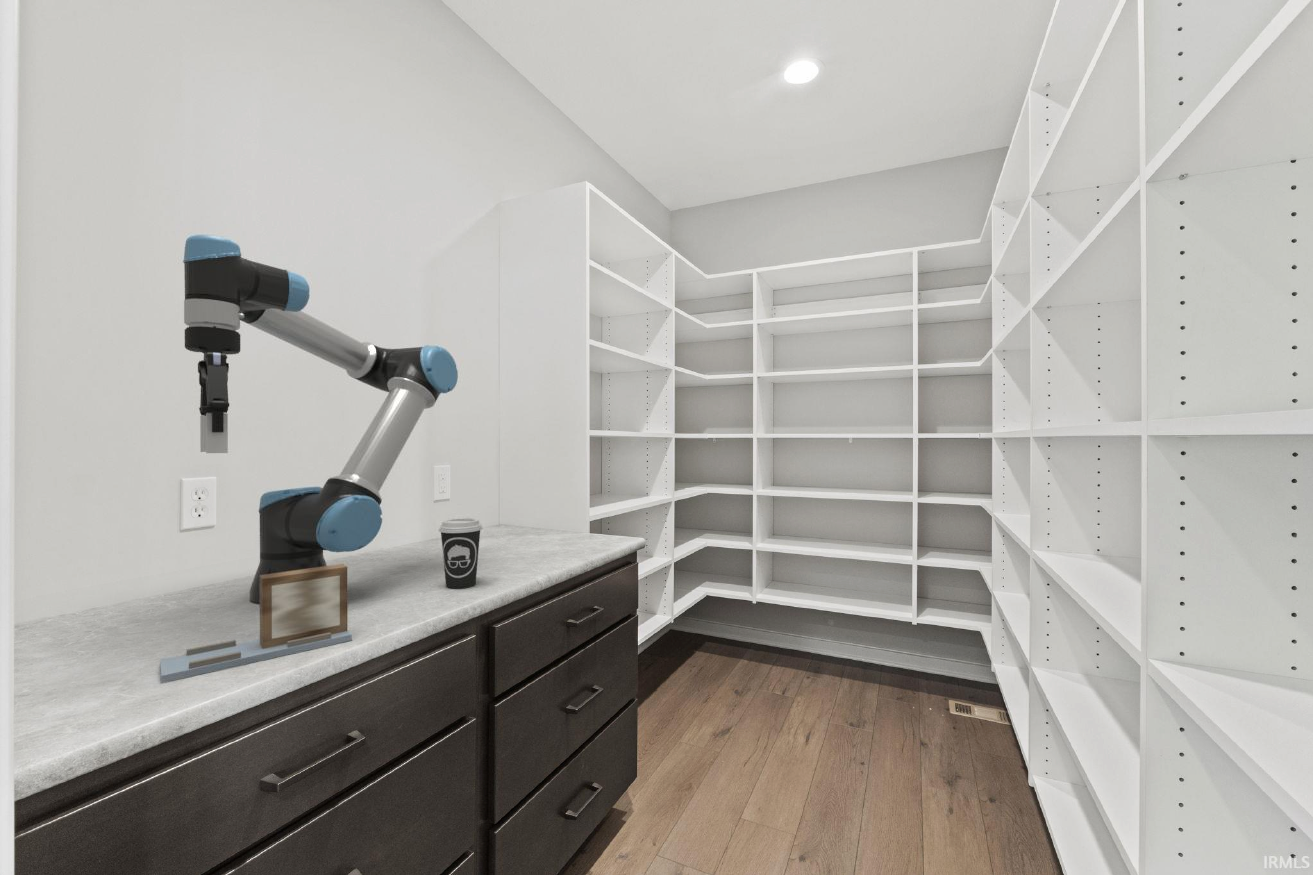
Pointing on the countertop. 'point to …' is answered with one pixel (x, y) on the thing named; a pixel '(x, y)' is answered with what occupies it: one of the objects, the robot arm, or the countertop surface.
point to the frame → (302, 604)
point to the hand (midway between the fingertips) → (213, 452)
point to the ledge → (238, 654)
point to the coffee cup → (460, 551)
